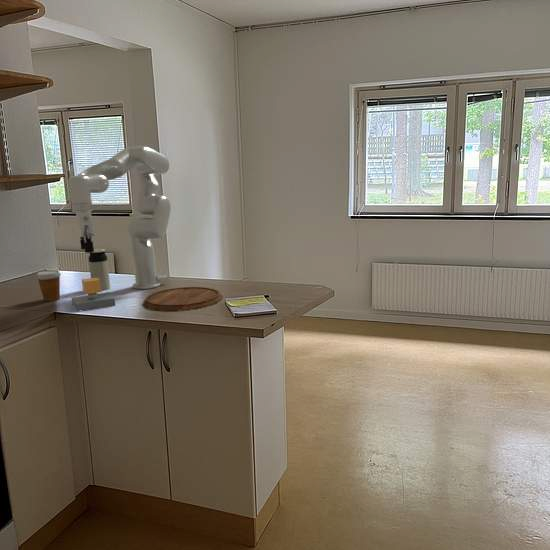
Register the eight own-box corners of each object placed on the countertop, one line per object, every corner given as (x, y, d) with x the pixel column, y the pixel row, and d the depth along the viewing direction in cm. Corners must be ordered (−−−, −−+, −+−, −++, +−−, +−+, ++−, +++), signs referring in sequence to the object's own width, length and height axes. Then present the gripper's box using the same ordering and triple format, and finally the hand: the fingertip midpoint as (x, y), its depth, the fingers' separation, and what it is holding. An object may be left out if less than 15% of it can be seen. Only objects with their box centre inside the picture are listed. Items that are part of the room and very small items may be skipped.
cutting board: (233, 292, 231) (233, 287, 230) (204, 313, 201) (203, 307, 200) (166, 291, 239) (165, 285, 239) (128, 310, 209) (127, 304, 209)
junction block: (109, 299, 227) (107, 276, 225) (115, 305, 216) (112, 281, 214) (72, 304, 220) (69, 281, 218) (76, 311, 210) (73, 286, 208)
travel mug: (105, 290, 243) (101, 251, 239) (89, 290, 244) (84, 251, 240) (113, 286, 250) (109, 248, 247) (97, 286, 252) (93, 248, 248)
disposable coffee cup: (42, 303, 224) (38, 275, 222) (37, 299, 232) (34, 272, 229) (65, 299, 229) (62, 272, 227) (60, 295, 237) (57, 269, 234)
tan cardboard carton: (98, 289, 221) (97, 277, 220) (101, 292, 216) (99, 279, 215) (83, 291, 218) (81, 279, 217) (85, 294, 213) (84, 281, 212)
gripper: (96, 208, 205) (101, 252, 208) (88, 205, 220) (93, 246, 223) (75, 209, 201) (81, 254, 205) (69, 207, 216) (74, 249, 220)
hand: (87, 250), depth 214 cm, fingers open, 9 cm apart
